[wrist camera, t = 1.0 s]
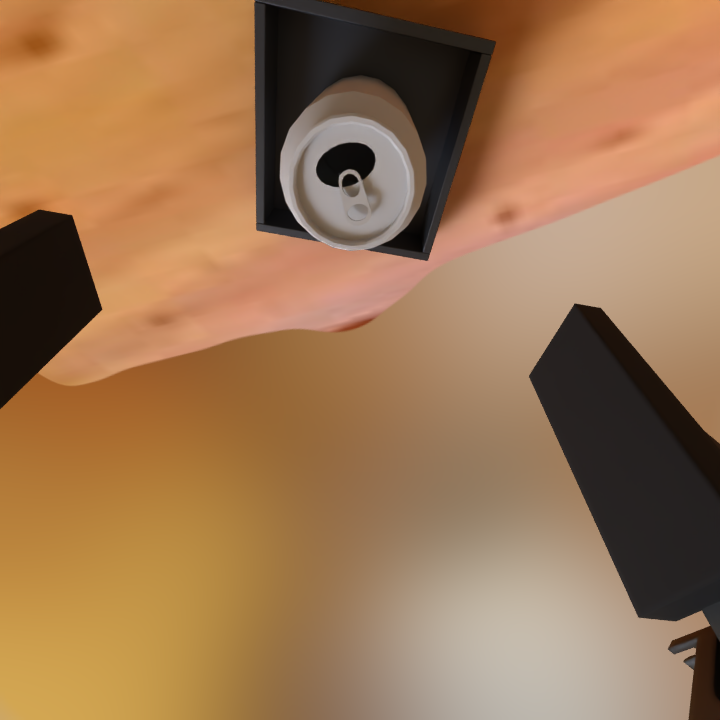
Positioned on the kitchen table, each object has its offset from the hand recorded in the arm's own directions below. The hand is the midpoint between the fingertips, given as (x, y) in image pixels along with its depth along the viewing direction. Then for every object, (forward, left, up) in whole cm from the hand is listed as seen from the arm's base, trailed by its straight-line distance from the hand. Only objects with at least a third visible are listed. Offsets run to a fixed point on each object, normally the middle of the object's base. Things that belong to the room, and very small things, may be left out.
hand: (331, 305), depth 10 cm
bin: (0, 0, -22) cm, 22 cm away
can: (0, 0, -22) cm, 22 cm away
